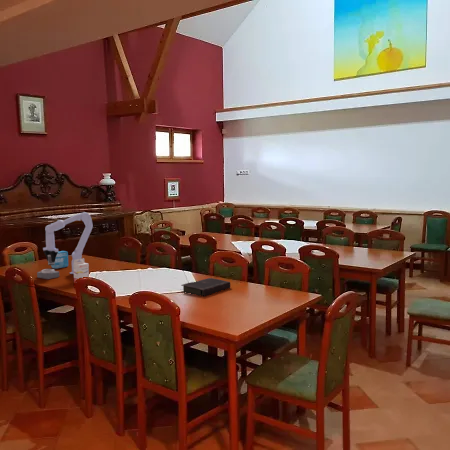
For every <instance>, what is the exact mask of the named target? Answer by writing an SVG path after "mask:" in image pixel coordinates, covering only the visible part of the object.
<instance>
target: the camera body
mask: <svg viewBox="0 0 450 450" xmlns="http://www.w3.org/2000/svg"><path fill="white" fill-rule="evenodd" d="M36 276H37V278H39V279H44V280H50V279H52V280H53V279H56V278H59V277H60V271H57V270H56V269H55V268H44V269H42V270H40V271H37V272H36Z"/></svg>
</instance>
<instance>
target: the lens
mask: <svg viewBox="0 0 450 450" xmlns="http://www.w3.org/2000/svg"><path fill="white" fill-rule="evenodd" d="M47 265H48V266H51V265H55V262H52V260H51V255H50V254H49V255H48V261H47Z"/></svg>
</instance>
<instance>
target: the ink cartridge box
mask: <svg viewBox="0 0 450 450" xmlns="http://www.w3.org/2000/svg"><path fill="white" fill-rule="evenodd" d="M79 260H80V261H81V262H77V261H79ZM89 268H90V265H89V263H88V262H85V258H84V257H82V258H81V259H77V260H74V274H73V282H74V283H76V282H75V281H76V280H77V279H79V278H83V277H89V278H90V271H89V270H90V269H89Z"/></svg>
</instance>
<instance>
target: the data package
mask: <svg viewBox="0 0 450 450" xmlns="http://www.w3.org/2000/svg"><path fill="white" fill-rule="evenodd" d="M50 266H51V269H54V270H56V269H61V268H67V267H69V252H68V251H66V250H61V251H59V250H58V253H57V256H56V259H55V265H50Z"/></svg>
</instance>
